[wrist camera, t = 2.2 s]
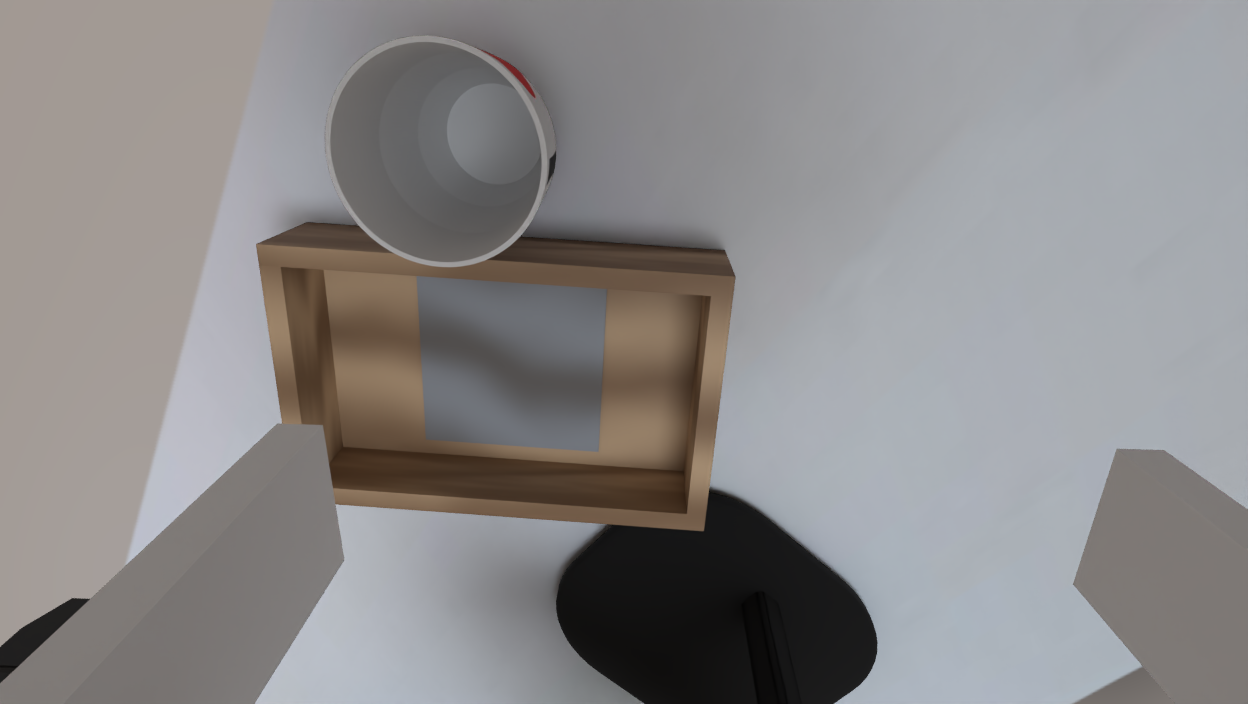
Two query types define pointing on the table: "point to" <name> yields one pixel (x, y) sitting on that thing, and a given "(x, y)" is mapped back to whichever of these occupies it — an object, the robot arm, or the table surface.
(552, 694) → the table surface
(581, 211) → the table surface
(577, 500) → the wooden box
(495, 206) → the cup
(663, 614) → the desk fan
